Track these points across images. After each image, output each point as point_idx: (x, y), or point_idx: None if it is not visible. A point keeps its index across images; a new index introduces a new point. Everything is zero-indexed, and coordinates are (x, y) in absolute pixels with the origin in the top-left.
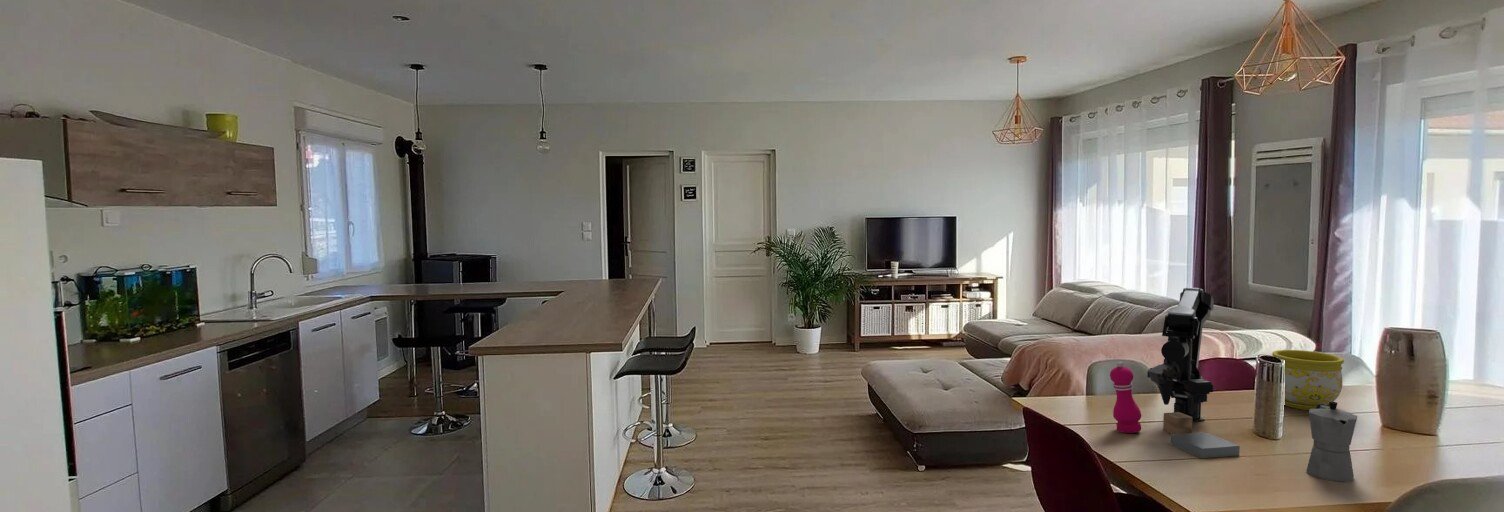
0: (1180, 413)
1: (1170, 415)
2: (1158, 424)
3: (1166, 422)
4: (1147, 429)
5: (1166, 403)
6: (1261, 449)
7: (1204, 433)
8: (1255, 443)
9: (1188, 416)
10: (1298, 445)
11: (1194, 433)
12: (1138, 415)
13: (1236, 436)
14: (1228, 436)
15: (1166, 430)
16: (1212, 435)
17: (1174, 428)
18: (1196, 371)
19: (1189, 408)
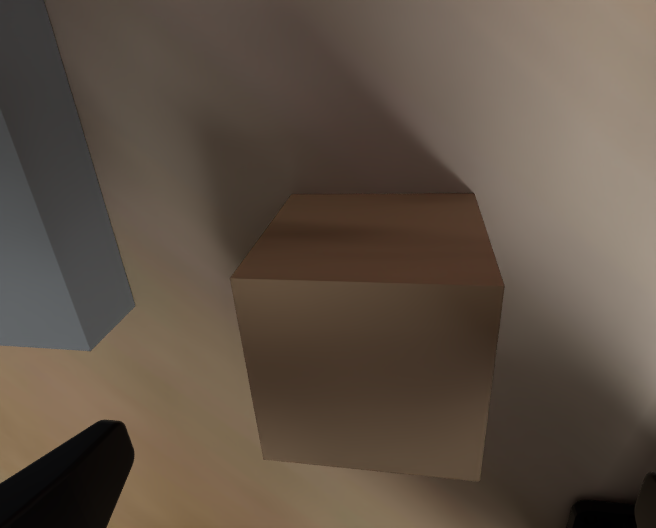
0: (423, 457)
1: (365, 291)
2: (639, 268)
3: (429, 229)
4: (536, 5)
5: (649, 506)
6: (25, 465)
7: (53, 317)
8: (121, 509)
9: (293, 446)
10: None
11: (37, 234)
12: None
13: (237, 522)
14: (239, 491)
15: (424, 196)
16: (8, 336)
17: (301, 216)
18: None
19: (17, 482)
